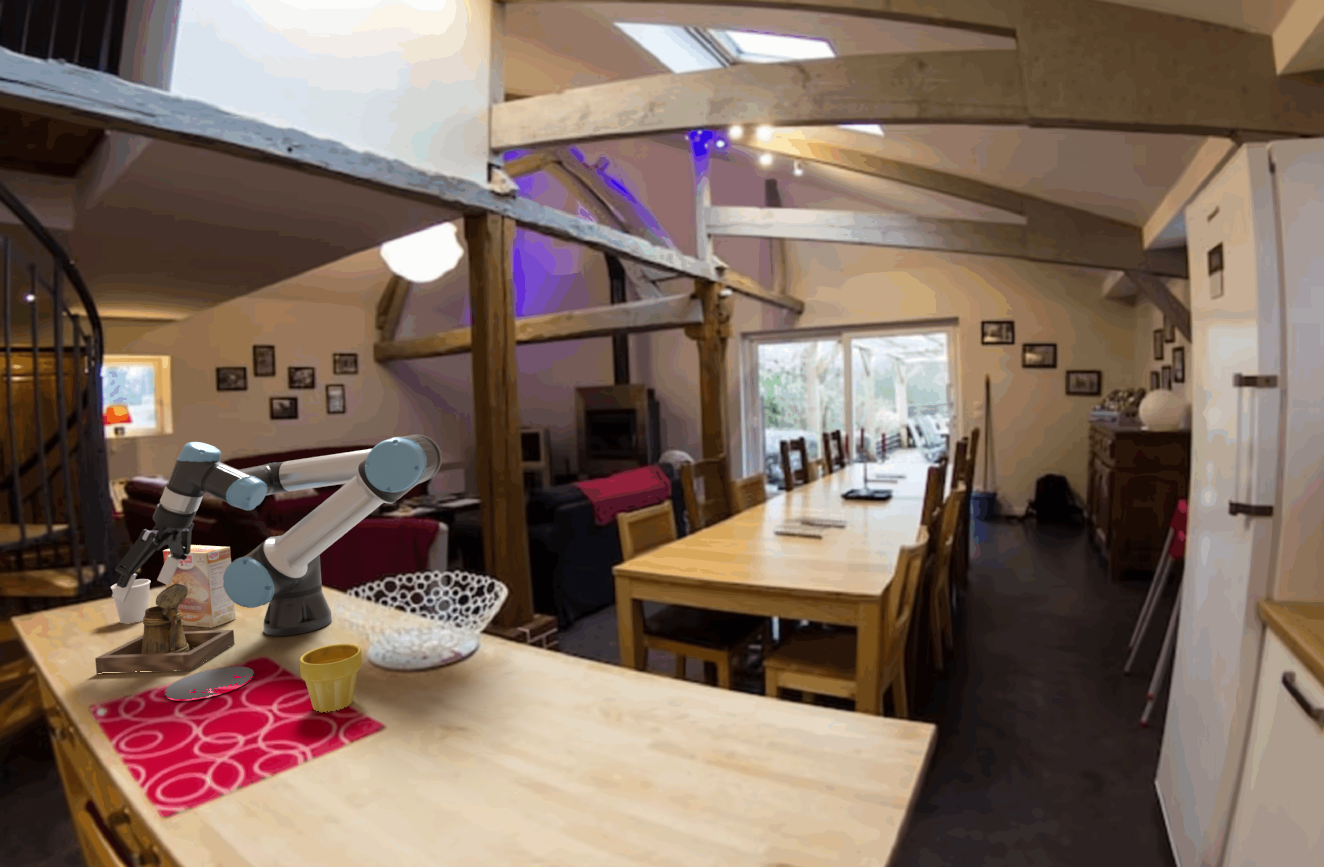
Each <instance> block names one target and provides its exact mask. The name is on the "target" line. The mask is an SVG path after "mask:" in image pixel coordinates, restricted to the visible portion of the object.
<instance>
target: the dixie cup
mask: <svg viewBox="0 0 1324 867" xmlns="http://www.w3.org/2000/svg"><path fill="white" fill-rule="evenodd" d="M116 585H117V583H115V584H113V585H111V586H110V589H111V590H112V593H113V592H114V590H115V588H116ZM150 585H151V580H150V579H148V578H147V579H146V578H139V579H135V580H134V583H133V585H132V587H131V590H130V592H129V594H128V597H127V599H126V601H124V602H122V601H120V600H118V599H115V598H113V599H114V602H115V606H116V609H117V610H116V611H117V614H118V617H119V622H120V624H121V623H133V624H135V623H134V622H138V623H140V622H139V621H141V622H143V617H144V616H145V611H146V610H147V609H148V608H149V601H150V588H151V587H150Z"/></svg>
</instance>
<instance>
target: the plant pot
mask: <svg viewBox="0 0 1324 867" xmlns="http://www.w3.org/2000/svg"><path fill="white" fill-rule="evenodd" d="M362 658H363V657H362V648H361V647H360V646H359V645H356V644H352V643H338V644H337V643H336V644H329V645H324V646H320V647H317V648H315V649H314V648H313V649H311V650H309V651H307V652H305V653H304V654H303V655H301V656H300V658H299V673H300V678H301V679H302V680H303V681H304V682H305V685H306V687H307V691H308V694H309V698H310V701H311V706H312V708H313V710H314V711H315V710H316V711H315V712H317V711H319V712H318V713H323V712H325V713H331V712H330V711H333V712H337V711H341V710H343V709H345V708H347V707H348V706H350V705H351V704H352V703H353V702H354V695H355V690H356V684H357V677H358V672H359V670H361V667H362ZM344 707H345V708H344ZM340 709H341V710H340ZM336 710H337V711H336ZM327 711H328V712H327Z"/></svg>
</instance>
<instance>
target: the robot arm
mask: <svg viewBox="0 0 1324 867" xmlns="http://www.w3.org/2000/svg"><path fill="white" fill-rule="evenodd" d="M221 451H222V450H220V449H219V448H218V447H217V446H214V445H211V444H208V443H206V442H200V441H190V442H187V443H185V444H184V446H183V447H182V448H181V451H180V453H179V454H178V457H177V458H176V461H175V463H174V464H175V465H174V467H173V470H172V472H171V474H170V476H169V480H168V482H167V484H166V486H165V487H164V490H163V493H162V495H161V497H160V499H159V503H158V504H157V506H156V508H155V510H154V513H153V515H152V520H153V521H154V523H155V526H154V527H153V528H152V530H148V529H147V528H145V529H142V531H140V534H139V536H138V538H137V539H136V540H135V542H134V543H133V544H132V545H131V547H130V548H129V549H128V551H127V552H126V554H125V555H124V556H123V558H122V559H121V560H120V561H119V562H118V564H117V565H116V566H115V568H114V571H116V572H118V573H120V576H119V579H118V580H117V583H116V584H117V585H116V588H115V590H114V592H113V591H112V594H111V598H113V599H114V598H115V599H118V600H120V601H122V602H124V601H126V599H127V597H128V594H129V592H130V590H131V587H132V585H133V583H134V580H136V578H137V576H138V574H137V573H136V572H137V571H138V570H139V569H140V568H141V567H142V566H143V565H144V564H145V563H146V562H147V561H148V560H149V558H150V557H152V555H153V554H154V553H155V552H157V551H160V550H161V549H162V548H163V547H165V546H167V545H168V549H170V552H171V555H173V556H170V555H169V556H167V559H166V561H165V563H164V562H163V563H164V564H163V566H162V568H161V570H160V572H159V575H158V577H157V579H156V581H157V582H160V583H162V584H165V586H166V585H169V584H170V582H171V580H172V578H173V575H174V573H175V571H176V569H177V566H178V564H179V562H180V559H182V560H185V559H186V558H187V556H186V555H185V554H187V555H188V554H189V553H190V550H191V545H192V533H193V532H192V530H193V529H194V526H195V523H194V522H193V521H194V519H195V516H196V515H197V514H196V513H197V511H198V509H199V507H200V505H201V502H202V500H203V497H204V495H205V494H207V495H210V496H212V497H214V498H217V499H219V500H220V501H223V502H225V503H227V504H228V505H230V506H231V507H234V508H237V509H238V508H239V509H241V510H244V511H252V510H254V509H255V508H256V507H257V506H260V505H261V503H262V502H263V501H264V499H265V497H266V496H270V495H277V494H282V493H288V492H294V491H295V492H296V491H302V490H308V489H309V490H310V489H315V488H316V489H317V488H322V487H329V486H336V485H343V486H341V487H340V488H339V489H338V490H337V491H335V492H334V493H333V494H332V495H330V496H329V497H328V498H326V499H325V500H324V501H323V502H322V503H321V504H319V505H318V506H317V507H315V509H313V510H312V511H311V512H309V513H307V515H306V516H304V517H303V518H302V519H300V521H298V522H297V523H295V525H293V526H292V527H290V528H289V530H287V531H286V532H285V533H283V534H282V535H277V536H275V535H274V536H270V537H267V538H266V539H265V540H264V541H263V542H262V543H260V544H259V545H258V546H256V548H254V549H253V550H251V552H249V553H248V554H246V555H244V556H241V557H238V558H236V559H235V560H233V561H231V564H230V565H229V566H228V567H227V568H226V570H225V572H224V576H223V579H224V583H223V585H224V589H225V592H226V593H227V595H228V597H229V598H230V599H231V600H232V601H233V602H234V604H236V605H238V606H240V607H242V608H248V609H255V608H258V607H261V606H265V605H267V608H266V613H265V616H264V619H263V624H262V625H263V633H264V634H265V635H267V636H274V637H275V636H276V637H286V636H287V637H288V636H295V635H302V634H305V633H309V632H313V631H316V630H319V629H321V628H325V627H326V626H328V625H329V624H330V623H331V622H332V621H333V620H332V619H333V618H332V611H331V609H330V606H329V604H328V601H327V600H326V597H325V595H324V593H323V586H322V585H323V583H322V572H321V571H322V570H321V556H320V555H321V554H322V553H323V552H324V551H326V550H327V549H328V548H329V547H330V546H332V545H333V544H334V543H335V542H337V541H338V540H339V539H341V538H342V537H343V536H344V535H345V534H347V533H348V532H349V531H350V530H352V529H353V528H354V527H355V526H356V525H358V524H359V523H361V521H363V520H364V519H365V518H366V517H368V516H369V515H370V514H371V513H373V512H374V511H375V510H377V509H378V508H379V507H380V506H381V505H382V504H384V503H385V504H394V503H396V502H397V501H398V500H400V499H401V498H402V497H403V496H404V495H406V494H407V493H408V492H410V491H411V490H412V489H413V488H415V487H416V486H418V485H419V484H422V483H424V482H427V481H429V480H430V479H432V478H433V477H434V476H436V475H437V473H438V472H439V470H440V468H441V466H442V462H443V455H442V451H441V449H440V446H439V445H438V444H437V442H436V441H434V439H432V438H431V437H429V436H426V435H425V434H409V435H404V436H395V437H389V438H387V439H385V440H381V441H380V442H379V443H377V444H376V445H375V446H374V447H373V448H368V449H362V450H354V451H349V452H347V451H346V452H341V453H335V454H327V455H320V456H312V457H308V458H307V457H306V458H301V459H300V458H299V459H294V460H287V461H281V462H280V461H279V462H269V463H265V464H262V465H258V466H256V465H255V466H251V467H247V468H241V469H237V468H235V467H234V466H230V465H228V464H226V463H224V462H223V461H221V457H222V452H221ZM184 547H185V548H184ZM115 599H114V600H115Z"/></svg>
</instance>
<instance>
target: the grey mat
mask: <svg viewBox="0 0 1324 867" xmlns="http://www.w3.org/2000/svg"><path fill="white" fill-rule="evenodd" d="M253 674H254V675H255V672H254V670H253V669H252V668H250V667H246V666H236V665H235V666H224V667H218V668H212V669H207V670H204V671H199V672H196V673H193V674H190V675H187V676H184V677H183V678H180V679H178V680H176V681H175V682H173V683H171V684H169V686H167V687H166V688H165V689H164V696H165V695H166V696H167V697H169V698H173V699H192V698H200V697H206V696H209V695H213V694H217V693H210V692H209V693H207V691H210V690H209V689H210V688H211V689H212V690H211V691H213V689H214V688H218V687H219V686H220V687H223V686H225V685H226V687H227V686H228V685H230V684H232V685H231V686H233V685H234V684H235V683H238V684H237V685H241V684H243V683H245V682H247V681H248V680H250V679H251V678H250V677H252V676H253ZM234 675H235V676H240V677H242V678H233V677H235V676H234ZM243 676H245V677H243ZM239 682H240V683H239ZM194 689H196V690H194ZM206 689H208V690H207V691H206ZM190 690H191V691H190ZM193 690H194V691H196V693H189V692H193ZM216 690H217V689H216ZM165 692H167V693H165ZM201 692H205V693H201Z"/></svg>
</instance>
